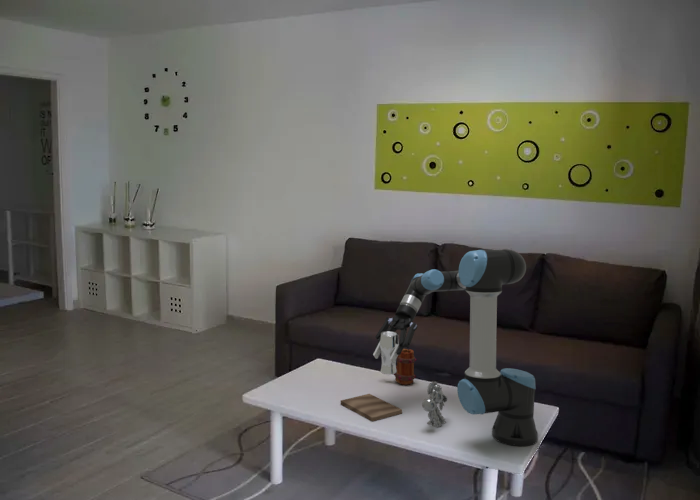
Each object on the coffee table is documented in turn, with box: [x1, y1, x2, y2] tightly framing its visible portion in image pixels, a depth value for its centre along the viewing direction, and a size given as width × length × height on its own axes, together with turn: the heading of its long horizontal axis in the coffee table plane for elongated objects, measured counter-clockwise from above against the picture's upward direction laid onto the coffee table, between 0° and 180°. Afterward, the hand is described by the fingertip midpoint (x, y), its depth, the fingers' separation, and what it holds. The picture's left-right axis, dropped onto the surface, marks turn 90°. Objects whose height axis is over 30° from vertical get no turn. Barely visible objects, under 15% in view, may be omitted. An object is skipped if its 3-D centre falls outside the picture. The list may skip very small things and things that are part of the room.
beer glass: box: [380, 331, 400, 376], centre depth 242 cm, size 7×7×15 cm
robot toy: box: [421, 380, 448, 428], centre depth 228 cm, size 15×6×15 cm, turn 148°
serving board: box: [340, 393, 403, 422], centre depth 242 cm, size 20×14×2 cm
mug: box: [393, 348, 417, 386], centre depth 271 cm, size 15×8×15 cm, turn 84°
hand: (383, 358), depth 239 cm, fingers closed on beer glass, 7 cm apart
